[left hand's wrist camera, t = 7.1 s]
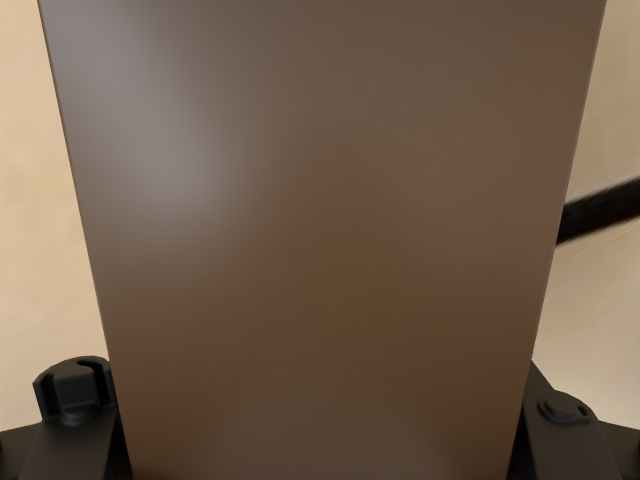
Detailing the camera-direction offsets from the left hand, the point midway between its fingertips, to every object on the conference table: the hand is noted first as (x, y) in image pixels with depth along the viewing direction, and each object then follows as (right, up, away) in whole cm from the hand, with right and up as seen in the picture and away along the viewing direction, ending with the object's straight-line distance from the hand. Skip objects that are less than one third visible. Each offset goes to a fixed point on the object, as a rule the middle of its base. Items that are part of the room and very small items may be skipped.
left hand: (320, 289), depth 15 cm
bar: (0, +9, -3) cm, 9 cm away
